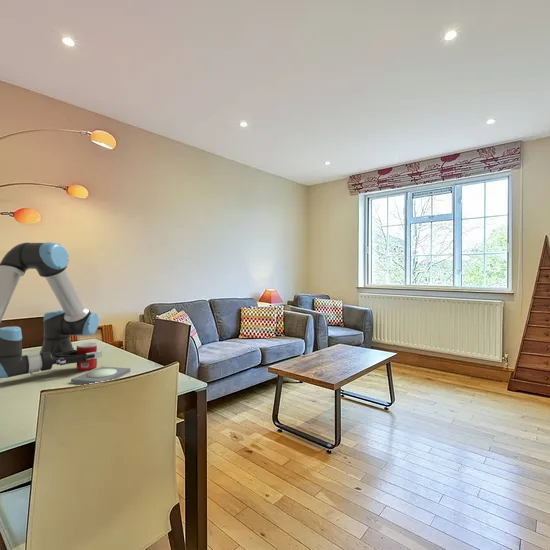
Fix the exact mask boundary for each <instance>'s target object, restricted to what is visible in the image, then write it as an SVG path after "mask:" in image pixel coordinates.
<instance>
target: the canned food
mask: <svg viewBox="0 0 550 550" xmlns="http://www.w3.org/2000/svg"><path fill="white" fill-rule="evenodd" d="M97 346H98V345H97V343H96V342H85V343H83V342H82V343H79V344H77V345H76V349H77V355H83V354H86V353H92V352H98V349H97V348H98V347H97ZM97 360H98V358H94V359H89V360H87V362H78V363H76V369H77V371H78V370H80V371H79V372H86V371H85V370H88V371H92V370H91V369H93V370H95V369H97V366H98V361H97ZM94 368H95V369H94Z"/></svg>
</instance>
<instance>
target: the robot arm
mask: <svg viewBox="0 0 550 550" xmlns="http://www.w3.org/2000/svg"><path fill="white" fill-rule="evenodd" d="M69 257H70V256H69V253H68V250H67V249H66V248H65V247H64V246H63V245H62V244H60V243H57V242H21V243H19V244H16V245H15V246H13V247H12V248H11V249H10V250H9V251H7V252H6V254H5V255H4V256H3V258H2V259H1V261H0V323H2V320H3V318H4V315H5V313H6V311H7V309H8V306H9V304H10V302H11V299H12V297H13V295H14V292H15V290H16V287H17V285H18V282H19V281H20V279H21V278H22V277H23V276H25V274H26V272H27V271H28V270H36V271H37V272H36V273H38V275H39V276H40V277H41V278H45V280H46V282H47V283H48V285H49V287H50V290H52V292H53V294H54V296H55V297H56V299H57V301H58V302H59V305H60V307H61V308H62V309H61V310H56V311H55V310H54V311H49V312H46V313H44V315H43V320H42V322H43V342H42V345H41V349H40V351H39V353H38V352H36V353H32V354H31V353H30V354H29V353H28V354H25V355H23V334H22V333H23V332H22V328H21V327H20V326H16V325H14V326H13V325H12V326H5V327H0V379H8V378H12V377H17V376H22V375H27V374H30V375H33V373H38V372H46V371H50V370H52V369H53V365H57V366H59V365H60V366H64V365H70V364H71V365H72V364H77V363H78V362H87V360H89V359H94V358H97V359H99V358H102V357H103V351H102V350H97V352H92V353H86V354H83V355H77V348H76V349H74V347H73V343H72V340H71V336H78V337H79V336H83V337H84V336H91V335H93V334H95V333H96V332H97V330H98V327H99V324H100V317H99V315H98V314H97V313H95V312H91V310H90V309H89V307H88V306H86V305H84V304H83V302H82V300H81V299H80V296H79V294H78V292H77V291H76V289H75V286H74V284H73V282H72V281H71V278H70V276H69V274H68V272H67V271H66V270H67V268H68V264H69Z"/></svg>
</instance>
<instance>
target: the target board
mask: <svg viewBox="0 0 550 550" xmlns="http://www.w3.org/2000/svg"><path fill="white" fill-rule="evenodd" d="M130 372H131V368H129V367H118V366H117V367H116V366H115V367H114V366H102V365H101V366H100V367H98V368H97V367H96V368H95V369H93V370H89V371H87V372H85V373H83V374H80V375H78V376H75V377H74V378H71V379H70V383H71V382H73V383H72V384H76V383H82V384H81V385H89V383H95V382H101V381H107V380H112V379H115V380H117V379H119V378H120V376H121V377H123V376H125V375H127V374H129V373H130Z"/></svg>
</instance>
